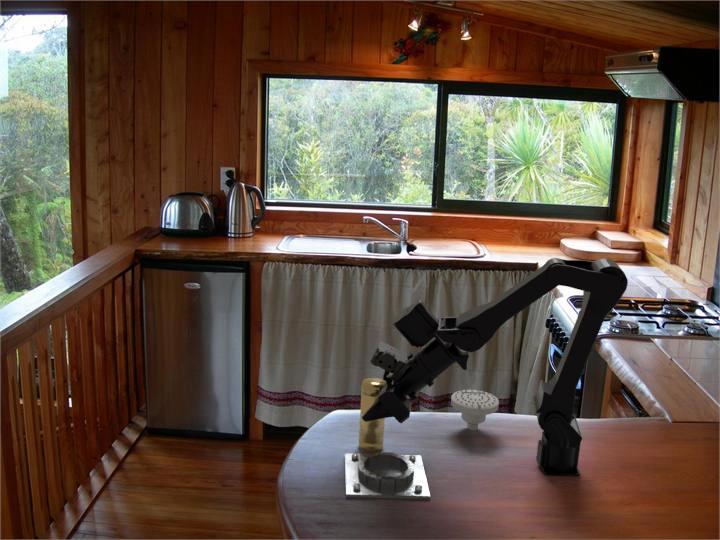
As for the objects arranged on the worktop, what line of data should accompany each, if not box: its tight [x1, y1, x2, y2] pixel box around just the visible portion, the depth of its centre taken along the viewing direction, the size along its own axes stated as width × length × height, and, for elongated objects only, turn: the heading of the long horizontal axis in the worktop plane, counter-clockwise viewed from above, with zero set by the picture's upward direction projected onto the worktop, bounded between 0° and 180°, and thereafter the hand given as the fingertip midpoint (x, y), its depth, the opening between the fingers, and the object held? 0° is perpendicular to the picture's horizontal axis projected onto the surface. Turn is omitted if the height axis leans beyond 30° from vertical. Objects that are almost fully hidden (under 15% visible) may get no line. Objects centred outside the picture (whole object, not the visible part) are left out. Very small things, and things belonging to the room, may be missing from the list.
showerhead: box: [450, 388, 500, 431], centre depth 153 cm, size 9×7×10 cm
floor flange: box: [344, 451, 431, 500], centre depth 134 cm, size 14×14×2 cm
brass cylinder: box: [358, 377, 387, 454], centre depth 143 cm, size 5×5×13 cm
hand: (365, 413), depth 143 cm, fingers closed on brass cylinder, 5 cm apart
